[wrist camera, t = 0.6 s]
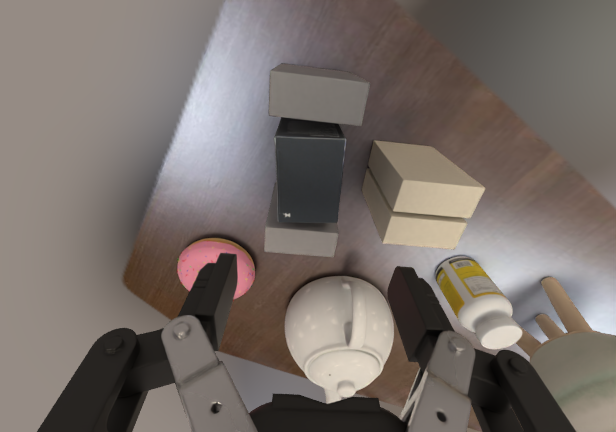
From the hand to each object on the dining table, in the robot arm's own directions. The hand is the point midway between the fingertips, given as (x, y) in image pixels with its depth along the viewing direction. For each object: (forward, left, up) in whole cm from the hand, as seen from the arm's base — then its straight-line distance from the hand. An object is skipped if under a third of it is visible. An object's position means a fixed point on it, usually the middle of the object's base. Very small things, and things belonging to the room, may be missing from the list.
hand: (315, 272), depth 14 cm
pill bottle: (+17, +25, -21) cm, 37 cm away
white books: (+2, +11, -21) cm, 23 cm away
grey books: (0, 0, -21) cm, 21 cm away
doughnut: (+19, -11, -21) cm, 30 cm away
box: (0, 0, -21) cm, 21 cm away
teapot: (+27, +8, -21) cm, 35 cm away
